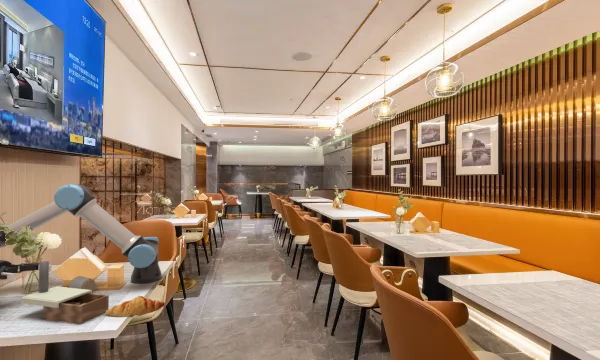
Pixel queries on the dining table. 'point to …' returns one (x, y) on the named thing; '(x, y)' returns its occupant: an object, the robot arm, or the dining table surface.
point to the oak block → (74, 303)
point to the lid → (51, 291)
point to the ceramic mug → (83, 283)
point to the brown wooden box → (78, 309)
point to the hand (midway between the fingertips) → (33, 272)
